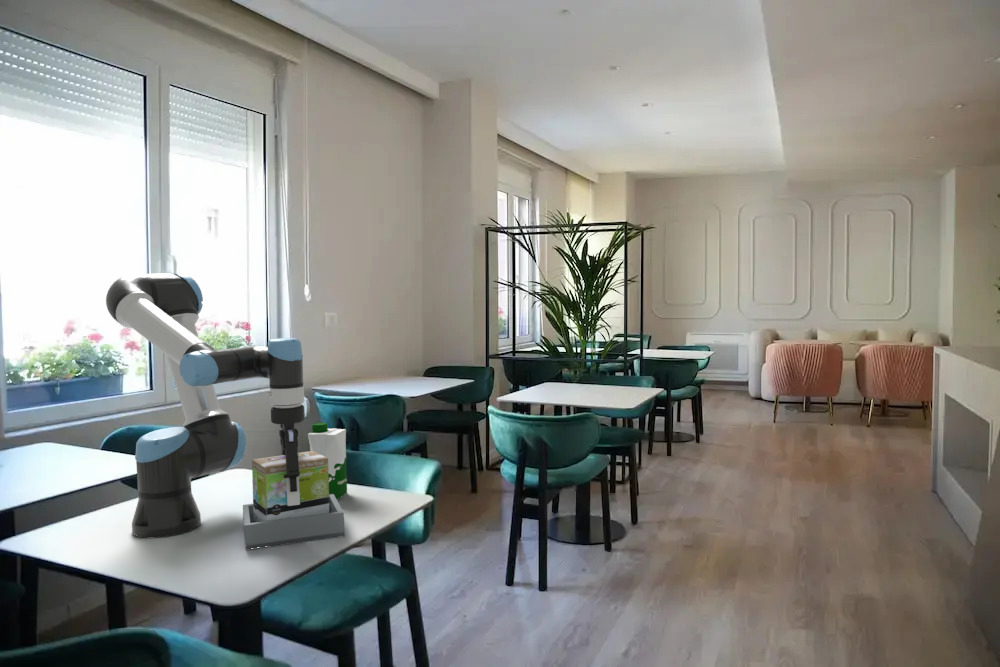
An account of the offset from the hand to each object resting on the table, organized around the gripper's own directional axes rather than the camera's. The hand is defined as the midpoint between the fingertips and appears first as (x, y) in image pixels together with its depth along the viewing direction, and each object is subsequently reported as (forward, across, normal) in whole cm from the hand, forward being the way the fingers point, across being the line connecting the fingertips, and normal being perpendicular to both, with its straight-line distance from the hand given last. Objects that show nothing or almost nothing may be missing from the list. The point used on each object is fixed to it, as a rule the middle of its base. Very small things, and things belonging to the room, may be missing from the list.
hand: (291, 498), depth 173 cm
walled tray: (+8, 0, 0) cm, 8 cm away
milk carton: (+8, -26, +12) cm, 30 cm away
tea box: (+5, 0, 0) cm, 5 cm away
